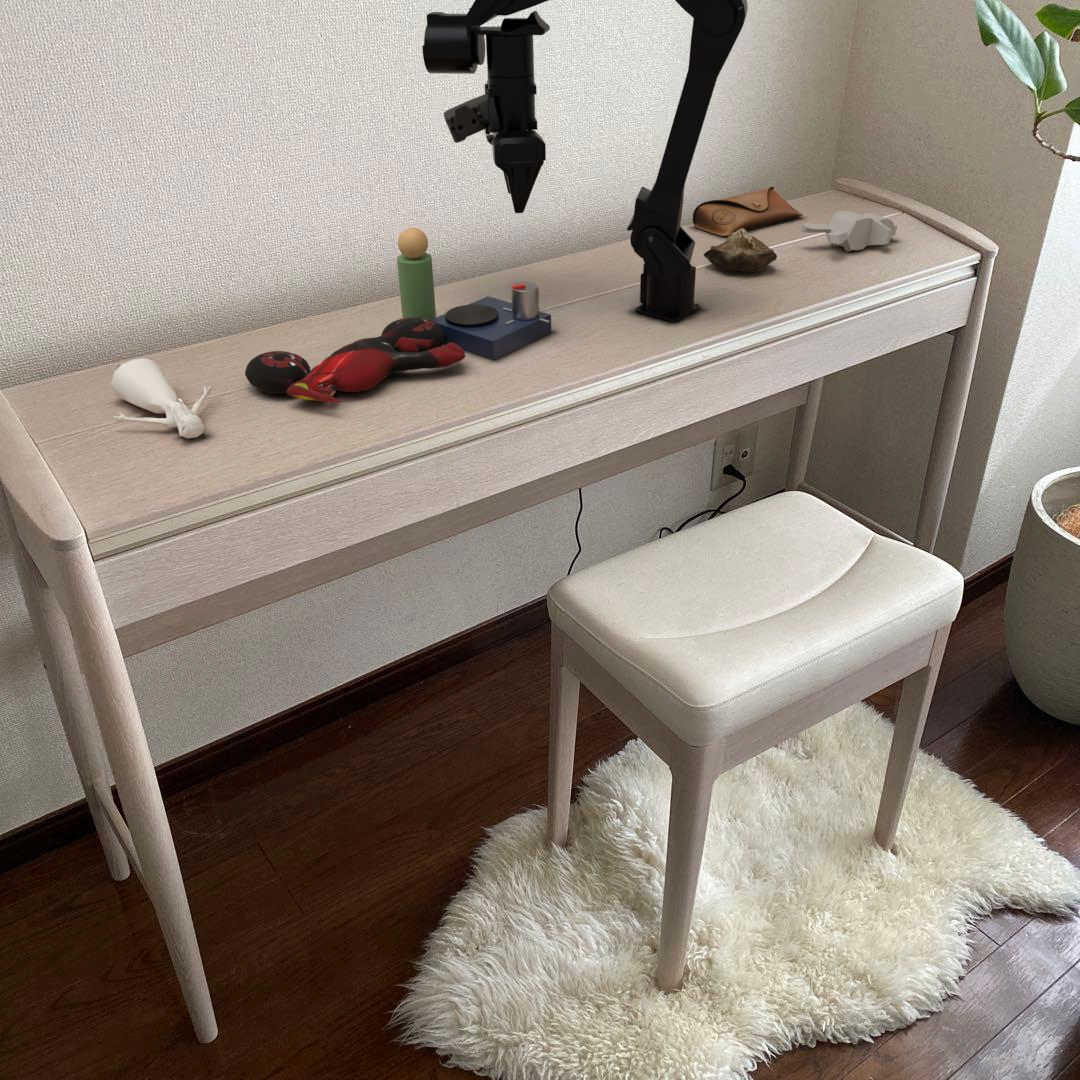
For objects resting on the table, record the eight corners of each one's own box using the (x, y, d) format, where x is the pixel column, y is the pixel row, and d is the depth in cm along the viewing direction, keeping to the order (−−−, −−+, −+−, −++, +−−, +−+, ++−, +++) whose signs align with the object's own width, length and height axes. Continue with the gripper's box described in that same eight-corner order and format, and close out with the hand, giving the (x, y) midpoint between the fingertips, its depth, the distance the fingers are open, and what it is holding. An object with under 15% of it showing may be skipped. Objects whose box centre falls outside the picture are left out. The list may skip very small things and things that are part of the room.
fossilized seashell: (696, 258, 152) (763, 278, 150) (713, 213, 151) (780, 233, 149) (704, 270, 159) (768, 289, 157) (720, 227, 159) (784, 246, 156)
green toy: (443, 324, 140) (436, 227, 133) (419, 334, 137) (411, 235, 130) (420, 317, 142) (412, 221, 135) (396, 327, 139) (386, 229, 132)
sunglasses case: (728, 235, 167) (715, 194, 166) (700, 249, 173) (687, 209, 172) (806, 214, 175) (795, 175, 175) (777, 227, 182) (766, 189, 181)
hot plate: (567, 332, 137) (567, 312, 135) (503, 363, 129) (502, 342, 127) (496, 310, 144) (495, 291, 142) (430, 338, 136) (429, 319, 134)
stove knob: (533, 308, 137) (533, 278, 135) (542, 317, 134) (542, 286, 132) (509, 312, 136) (507, 281, 134) (517, 321, 133) (516, 290, 131)
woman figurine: (171, 338, 125) (243, 396, 115) (177, 372, 128) (249, 432, 117) (73, 366, 119) (140, 430, 108) (82, 401, 122) (148, 467, 111)
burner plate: (509, 315, 135) (509, 312, 135) (473, 332, 131) (472, 328, 131) (471, 304, 139) (470, 300, 139) (434, 319, 135) (433, 315, 134)
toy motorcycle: (241, 391, 126) (285, 422, 114) (232, 349, 124) (276, 375, 112) (429, 349, 138) (488, 373, 125) (424, 310, 135) (483, 330, 123)
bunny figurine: (914, 219, 160) (842, 224, 153) (905, 253, 163) (835, 260, 156) (868, 205, 167) (797, 209, 160) (860, 237, 170) (791, 243, 163)
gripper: (442, 64, 137) (450, 187, 145) (448, 91, 121) (457, 227, 130) (527, 60, 138) (531, 182, 146) (544, 87, 122) (547, 222, 131)
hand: (515, 202), depth 138 cm, fingers open, 9 cm apart
